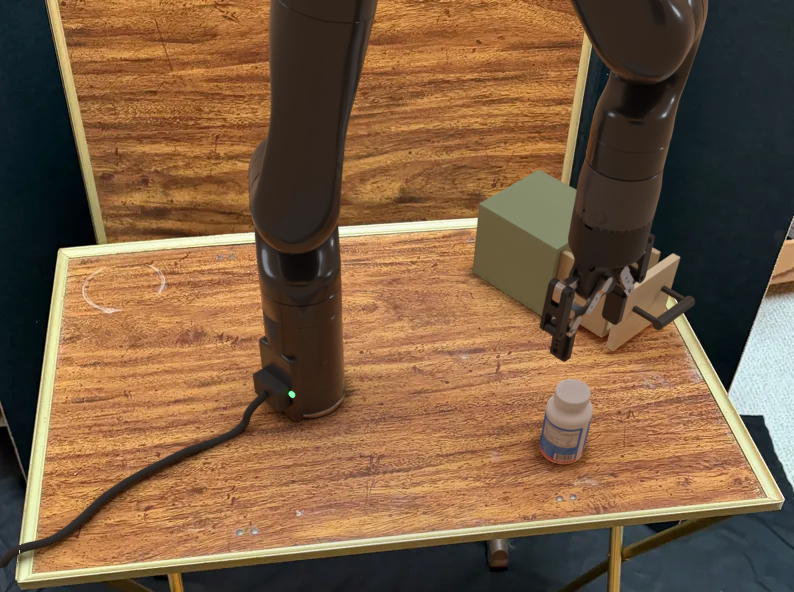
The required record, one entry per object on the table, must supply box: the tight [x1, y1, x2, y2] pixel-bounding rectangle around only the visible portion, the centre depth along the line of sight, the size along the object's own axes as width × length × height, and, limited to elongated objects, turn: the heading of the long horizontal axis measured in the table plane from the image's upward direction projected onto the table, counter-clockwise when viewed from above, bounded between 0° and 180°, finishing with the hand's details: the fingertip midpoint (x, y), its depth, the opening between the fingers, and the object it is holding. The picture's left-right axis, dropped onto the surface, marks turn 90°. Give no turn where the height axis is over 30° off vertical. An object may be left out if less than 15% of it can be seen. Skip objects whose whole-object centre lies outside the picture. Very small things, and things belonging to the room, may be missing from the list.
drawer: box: [556, 247, 696, 352], centre depth 127 cm, size 17×11×9 cm, turn 44°
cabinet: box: [472, 169, 577, 317], centre depth 133 cm, size 14×12×11 cm
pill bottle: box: [539, 378, 594, 465], centre depth 113 cm, size 6×5×10 cm
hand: (585, 338), depth 104 cm, fingers open, 8 cm apart
